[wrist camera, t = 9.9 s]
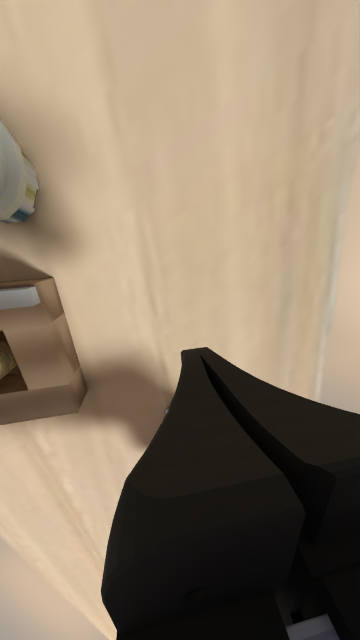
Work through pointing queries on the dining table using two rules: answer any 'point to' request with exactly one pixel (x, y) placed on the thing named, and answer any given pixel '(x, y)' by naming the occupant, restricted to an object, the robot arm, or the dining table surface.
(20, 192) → the grey long knobbed part
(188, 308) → the dining table surface
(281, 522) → the robot arm
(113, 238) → the dining table surface
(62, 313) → the jig
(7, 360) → the tan cylinder
